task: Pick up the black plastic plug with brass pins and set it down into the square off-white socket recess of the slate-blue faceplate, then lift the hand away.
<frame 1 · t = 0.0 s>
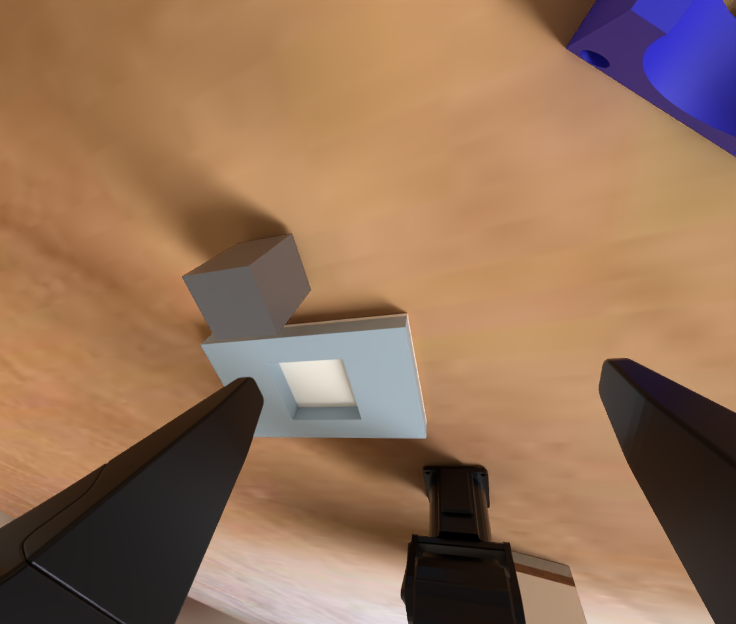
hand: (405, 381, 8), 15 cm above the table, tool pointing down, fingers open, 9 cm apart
display case: (506, 569, 42), on the table
blue notched cradle: (703, 61, 15), on the table
socket: (321, 376, 29), on the table
plug: (279, 262, 24), on the table
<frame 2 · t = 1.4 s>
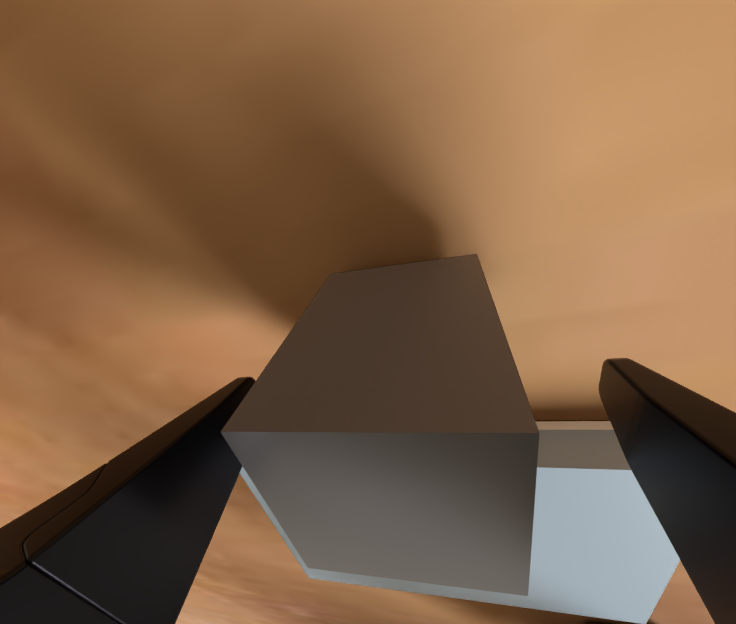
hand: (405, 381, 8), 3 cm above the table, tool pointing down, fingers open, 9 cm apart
socket: (443, 500, 16), on the table
plug: (411, 314, 11), on the table
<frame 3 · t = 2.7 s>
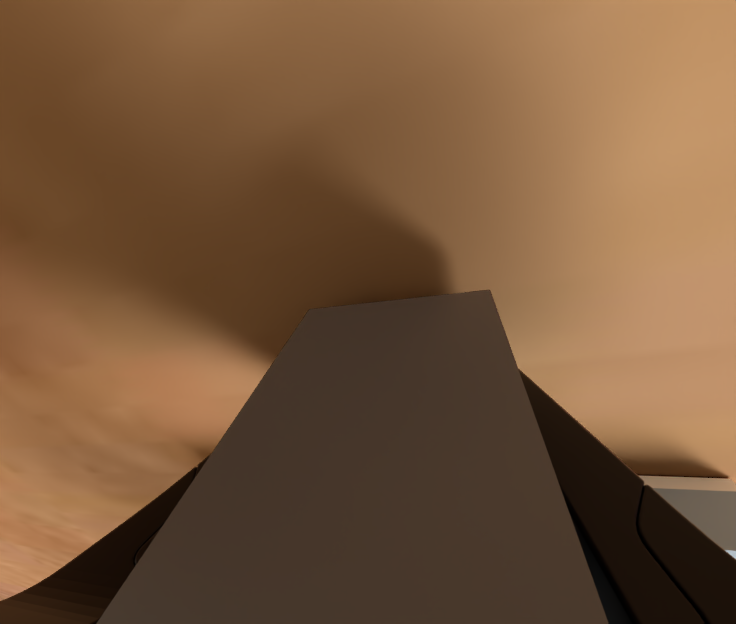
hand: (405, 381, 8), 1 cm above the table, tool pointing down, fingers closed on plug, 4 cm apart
socket: (445, 548, 15), on the table
plug: (408, 352, 9), on the table, touching gripper
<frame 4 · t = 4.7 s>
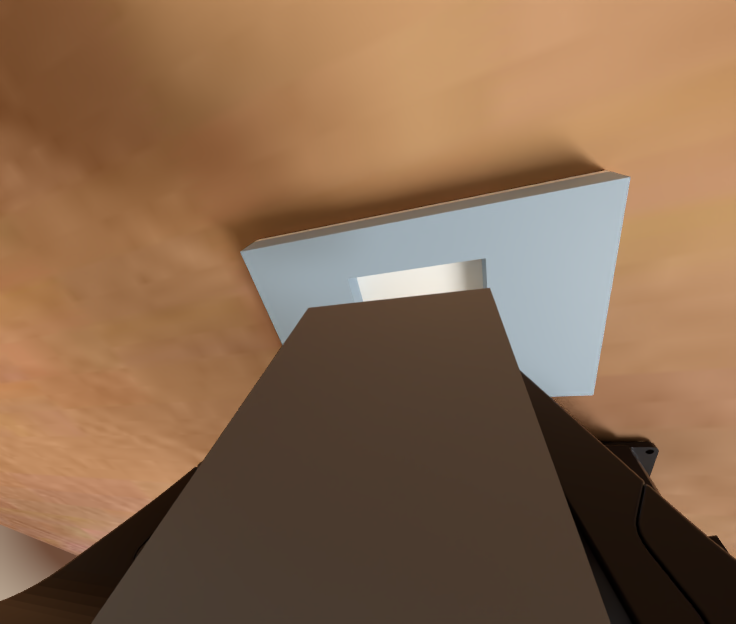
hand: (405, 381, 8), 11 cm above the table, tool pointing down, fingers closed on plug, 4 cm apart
socket: (423, 307, 19), on the table
plug: (408, 351, 9), point 9 cm above the table, touching gripper
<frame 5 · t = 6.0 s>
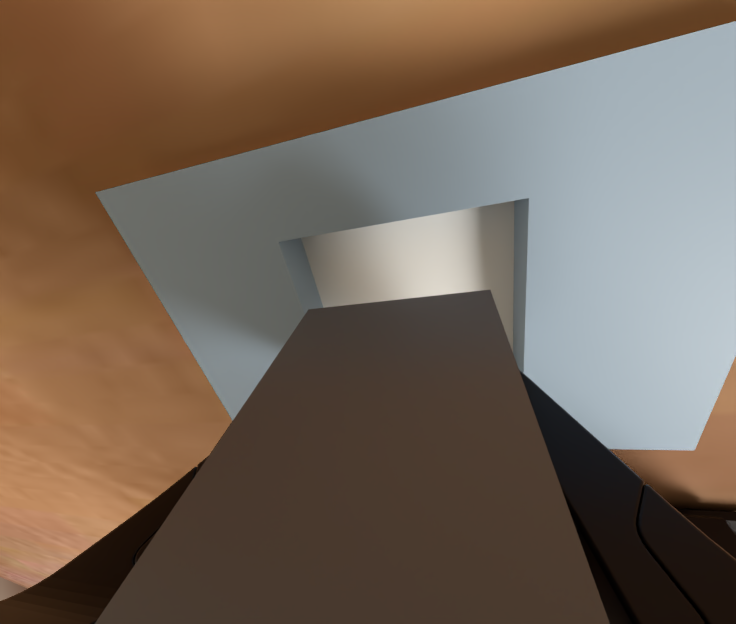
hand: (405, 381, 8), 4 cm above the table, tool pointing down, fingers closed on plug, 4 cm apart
socket: (412, 299, 12), on the table
plug: (408, 352, 9), point 3 cm above the table, touching gripper
when the fingers open (3 cm above the table, at t = 7.0 s): plug drops 1 cm, resting on socket.
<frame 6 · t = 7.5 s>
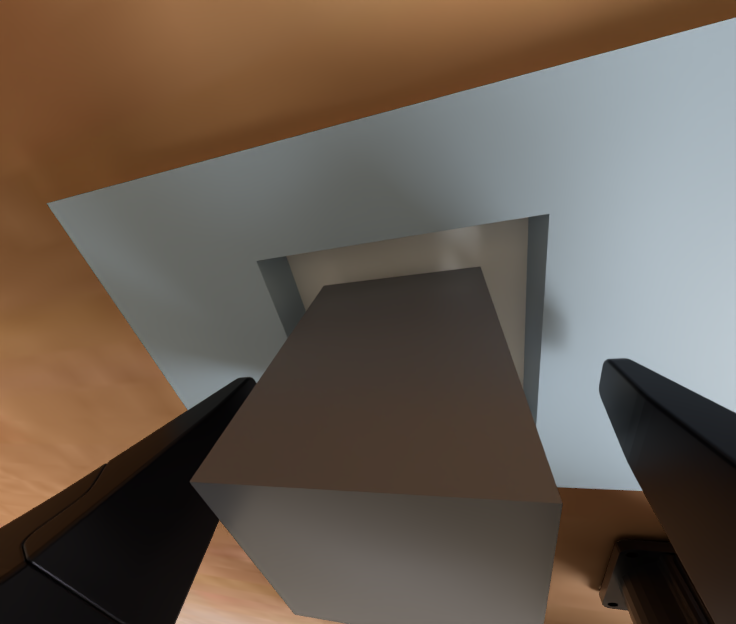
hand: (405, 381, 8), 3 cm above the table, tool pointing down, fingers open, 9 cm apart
socket: (411, 320, 11), on the table
plug: (409, 327, 10), resting on socket
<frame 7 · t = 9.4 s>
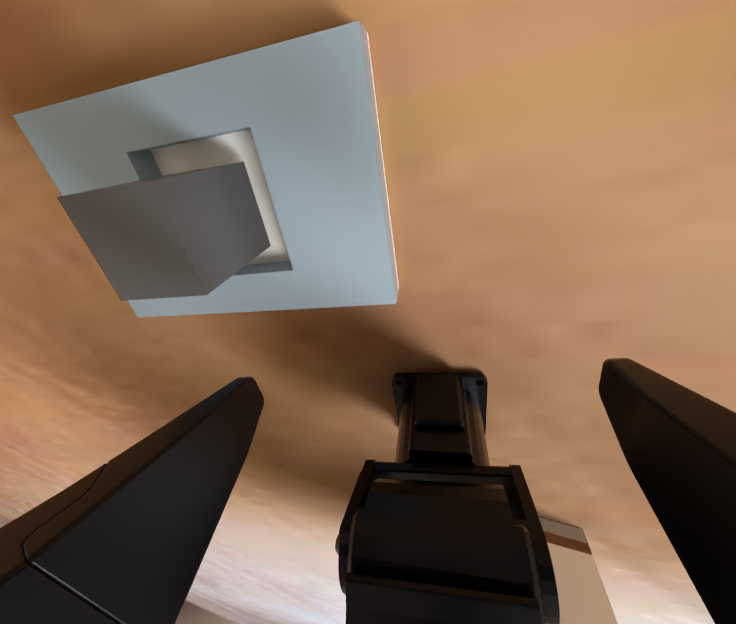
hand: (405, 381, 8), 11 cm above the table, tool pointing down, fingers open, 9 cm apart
display case: (497, 534, 32), on the table
socket: (234, 206, 18), on the table
plug: (230, 207, 18), resting on socket
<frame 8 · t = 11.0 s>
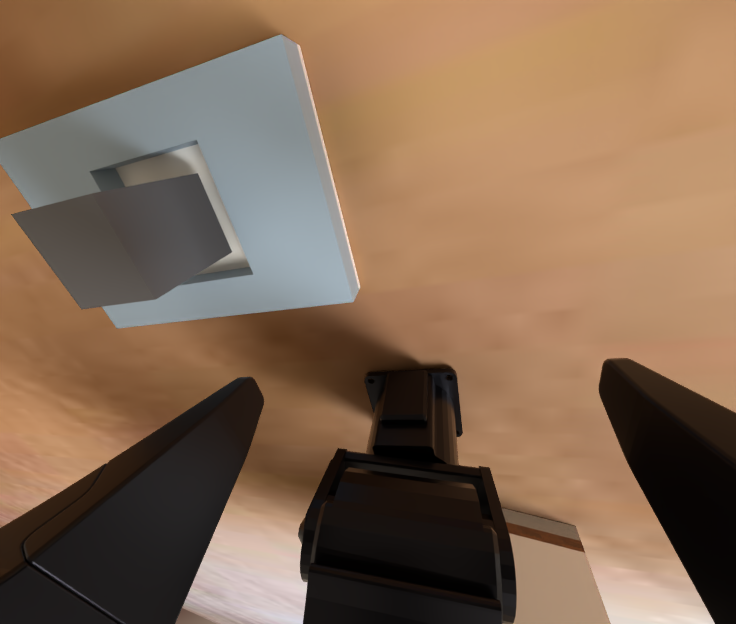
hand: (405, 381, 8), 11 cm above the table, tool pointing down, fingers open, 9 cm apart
display case: (491, 534, 31), on the table
socket: (197, 216, 19), on the table
plug: (193, 218, 19), resting on socket
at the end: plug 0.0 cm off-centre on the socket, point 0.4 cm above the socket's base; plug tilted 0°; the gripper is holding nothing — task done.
